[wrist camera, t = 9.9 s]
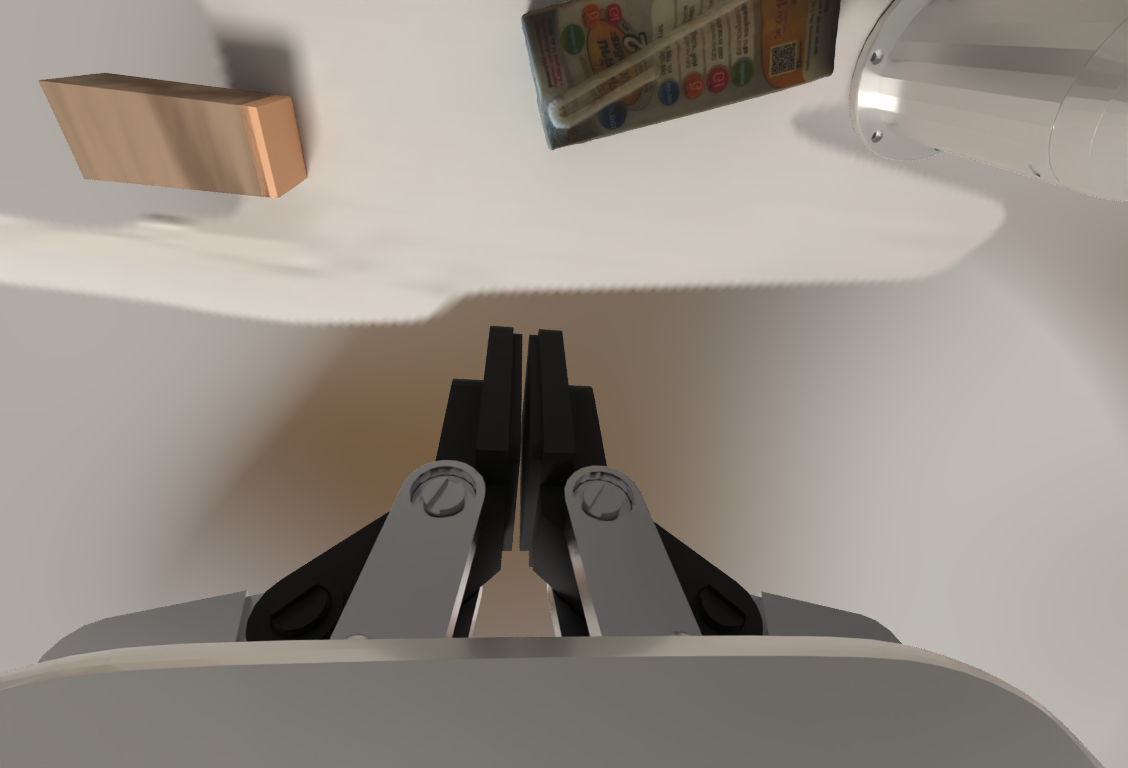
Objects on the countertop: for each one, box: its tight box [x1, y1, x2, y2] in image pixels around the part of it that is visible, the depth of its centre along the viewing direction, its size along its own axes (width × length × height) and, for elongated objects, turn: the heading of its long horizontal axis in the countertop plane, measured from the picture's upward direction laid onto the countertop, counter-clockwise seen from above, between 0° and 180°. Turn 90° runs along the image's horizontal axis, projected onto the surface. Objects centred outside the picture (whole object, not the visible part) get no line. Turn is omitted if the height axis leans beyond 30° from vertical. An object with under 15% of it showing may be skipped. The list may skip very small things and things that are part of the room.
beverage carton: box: [522, 0, 841, 150], centre depth 30 cm, size 8×19×7 cm, turn 103°
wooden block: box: [39, 73, 307, 198], centre depth 32 cm, size 6×6×12 cm
